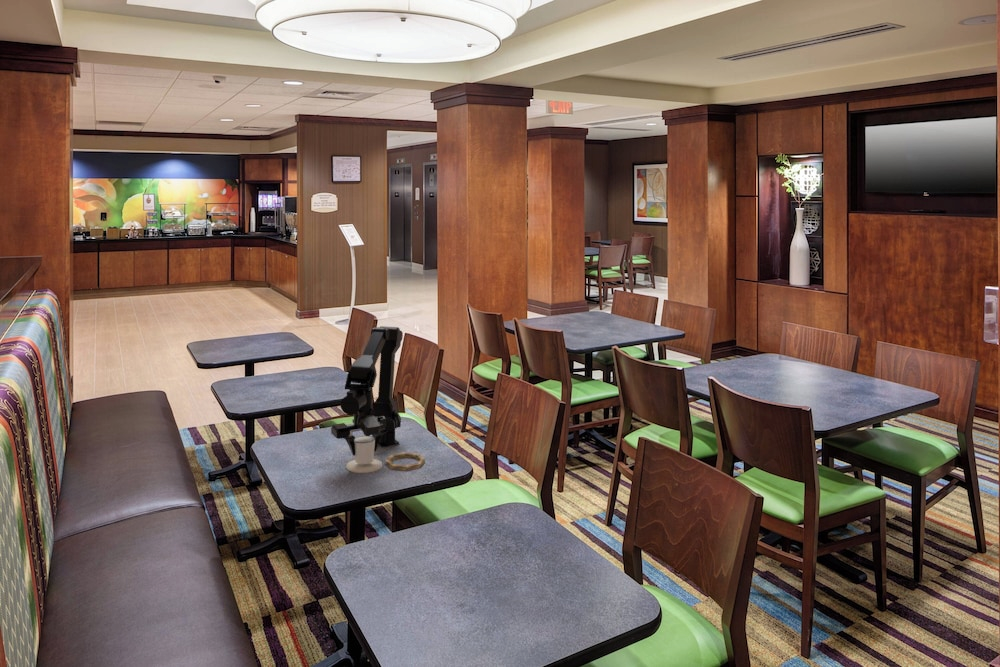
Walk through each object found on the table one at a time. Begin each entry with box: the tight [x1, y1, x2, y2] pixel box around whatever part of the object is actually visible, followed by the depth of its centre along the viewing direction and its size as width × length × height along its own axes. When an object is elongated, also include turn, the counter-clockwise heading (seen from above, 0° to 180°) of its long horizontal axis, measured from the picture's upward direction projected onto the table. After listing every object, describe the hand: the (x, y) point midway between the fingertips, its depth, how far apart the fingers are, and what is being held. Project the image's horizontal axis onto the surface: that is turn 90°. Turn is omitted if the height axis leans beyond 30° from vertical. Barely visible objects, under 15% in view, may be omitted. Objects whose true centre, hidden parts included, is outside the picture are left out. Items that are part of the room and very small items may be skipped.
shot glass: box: [354, 435, 375, 464], centre depth 221 cm, size 7×7×7 cm
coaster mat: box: [345, 458, 383, 474], centre depth 222 cm, size 11×11×1 cm
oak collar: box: [385, 451, 426, 472], centre depth 225 cm, size 11×11×1 cm
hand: (364, 453), depth 221 cm, fingers closed on shot glass, 6 cm apart
